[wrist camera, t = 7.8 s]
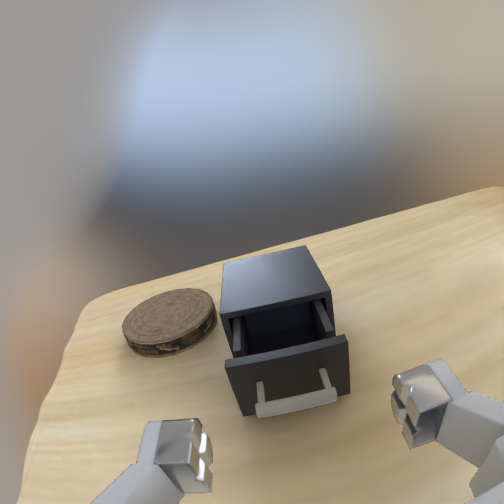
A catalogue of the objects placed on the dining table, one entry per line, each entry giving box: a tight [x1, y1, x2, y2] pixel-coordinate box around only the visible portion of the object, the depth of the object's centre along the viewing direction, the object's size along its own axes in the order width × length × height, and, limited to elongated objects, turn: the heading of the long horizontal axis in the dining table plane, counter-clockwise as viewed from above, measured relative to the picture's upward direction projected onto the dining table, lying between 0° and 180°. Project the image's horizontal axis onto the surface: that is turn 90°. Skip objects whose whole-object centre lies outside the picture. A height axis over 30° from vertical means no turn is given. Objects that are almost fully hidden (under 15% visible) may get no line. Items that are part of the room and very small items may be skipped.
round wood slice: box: [122, 288, 217, 357], centre depth 52 cm, size 16×16×3 cm
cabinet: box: [219, 245, 336, 358], centre depth 44 cm, size 15×13×9 cm
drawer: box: [225, 299, 350, 418], centre depth 34 cm, size 18×11×7 cm, turn 2°
